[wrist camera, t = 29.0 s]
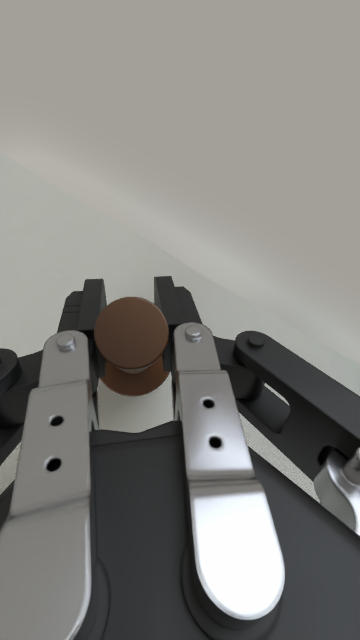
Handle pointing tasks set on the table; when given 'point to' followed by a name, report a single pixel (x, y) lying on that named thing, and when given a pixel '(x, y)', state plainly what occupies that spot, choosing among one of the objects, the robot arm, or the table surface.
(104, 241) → the table surface
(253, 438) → the table surface
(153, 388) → the wooden peg stand
